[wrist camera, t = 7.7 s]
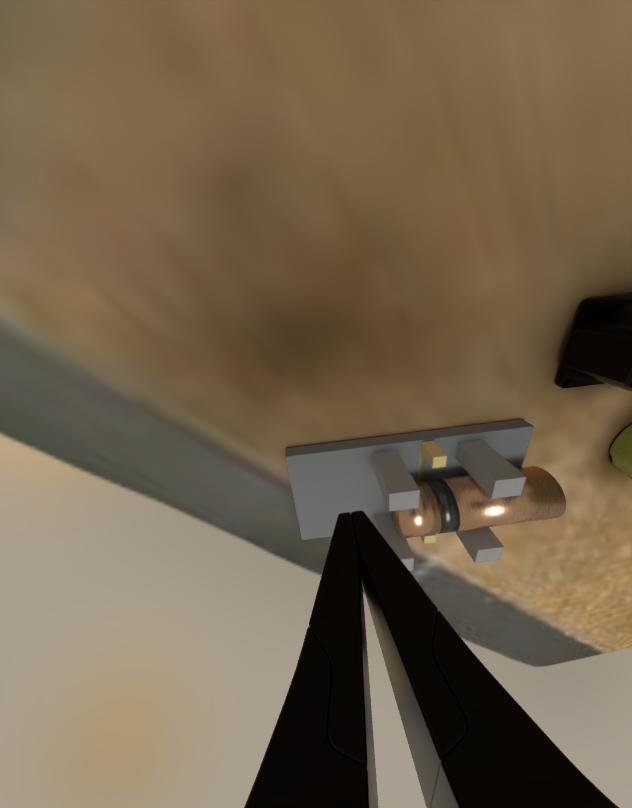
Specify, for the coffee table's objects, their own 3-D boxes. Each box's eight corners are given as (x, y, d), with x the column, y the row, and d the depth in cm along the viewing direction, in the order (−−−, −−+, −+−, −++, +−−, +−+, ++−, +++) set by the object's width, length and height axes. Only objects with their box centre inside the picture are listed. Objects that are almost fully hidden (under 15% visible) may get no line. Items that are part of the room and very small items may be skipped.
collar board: (521, 418, 21) (591, 461, 16) (498, 504, 25) (546, 559, 20) (286, 448, 21) (281, 499, 16) (302, 529, 25) (302, 589, 20)
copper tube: (527, 456, 21) (573, 492, 18) (516, 490, 23) (556, 529, 20) (387, 475, 21) (404, 515, 18) (387, 507, 23) (402, 549, 20)
